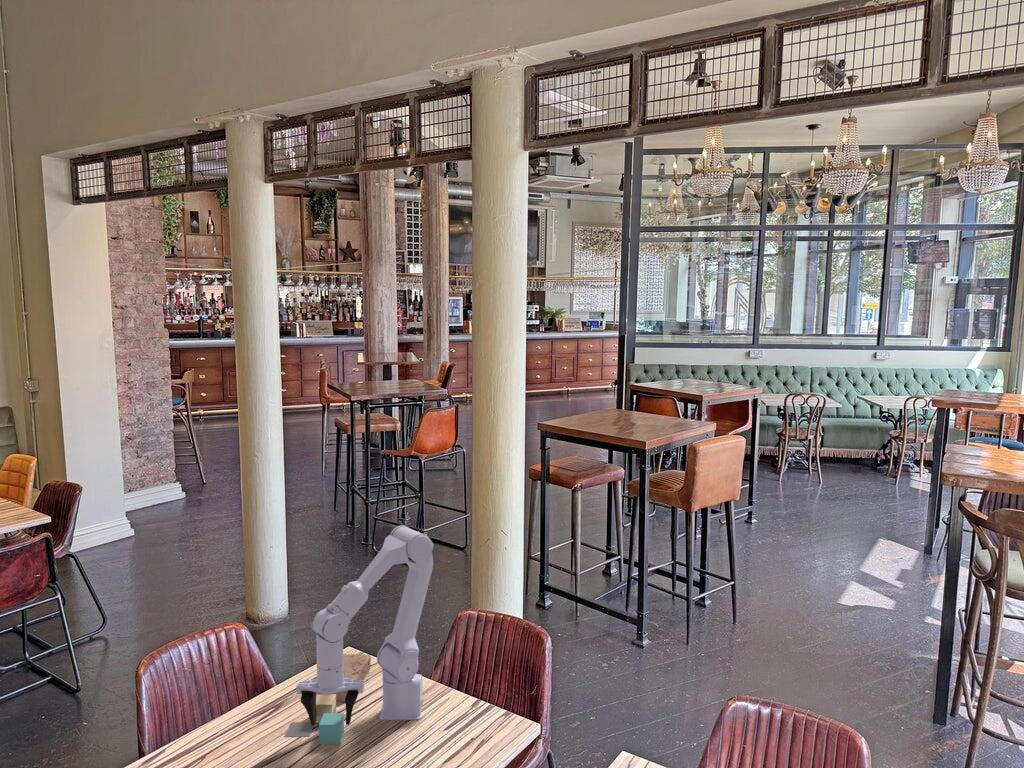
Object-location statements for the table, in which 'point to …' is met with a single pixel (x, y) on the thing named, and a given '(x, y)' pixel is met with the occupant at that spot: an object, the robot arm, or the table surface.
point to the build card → (299, 729)
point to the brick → (354, 670)
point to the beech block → (325, 705)
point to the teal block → (331, 728)
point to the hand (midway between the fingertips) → (331, 722)
